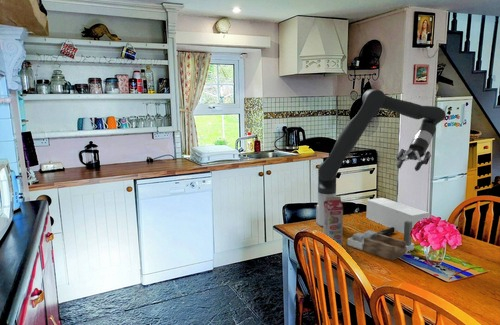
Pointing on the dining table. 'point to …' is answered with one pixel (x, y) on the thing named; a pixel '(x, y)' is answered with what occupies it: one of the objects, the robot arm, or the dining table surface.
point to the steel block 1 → (358, 237)
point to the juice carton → (333, 218)
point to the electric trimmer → (387, 231)
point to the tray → (355, 244)
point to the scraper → (408, 235)
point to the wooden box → (385, 247)
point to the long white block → (393, 213)
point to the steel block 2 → (370, 235)
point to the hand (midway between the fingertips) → (406, 168)
